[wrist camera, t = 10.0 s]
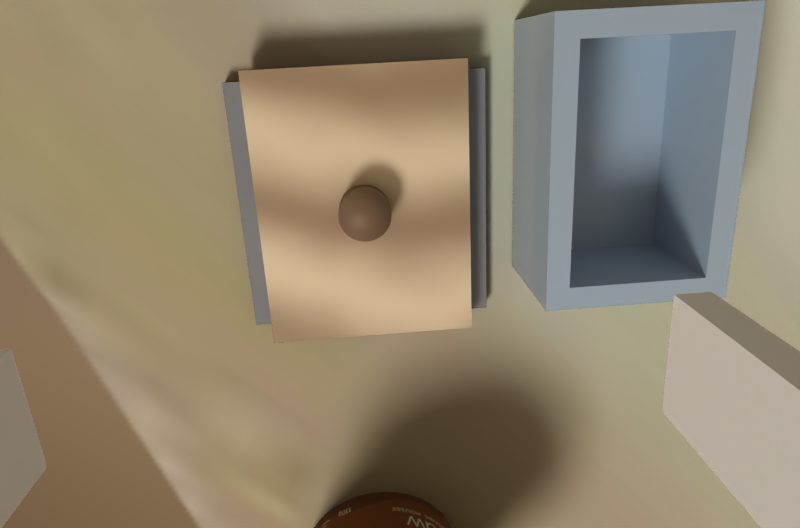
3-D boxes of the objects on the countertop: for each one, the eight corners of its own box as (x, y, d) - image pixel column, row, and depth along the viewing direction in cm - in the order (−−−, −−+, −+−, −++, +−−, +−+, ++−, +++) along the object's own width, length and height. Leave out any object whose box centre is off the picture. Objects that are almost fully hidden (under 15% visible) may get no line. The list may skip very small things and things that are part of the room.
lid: (242, 70, 27) (232, 71, 25) (463, 58, 28) (473, 58, 25) (277, 332, 31) (270, 353, 29) (467, 317, 32) (476, 337, 30)
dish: (514, 20, 28) (554, 11, 22) (683, 11, 28) (765, 0, 23) (512, 265, 32) (545, 311, 26) (660, 254, 32) (725, 297, 27)
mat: (224, 82, 28) (222, 82, 27) (482, 67, 28) (485, 67, 28) (258, 320, 32) (256, 324, 31) (484, 303, 32) (486, 307, 32)
